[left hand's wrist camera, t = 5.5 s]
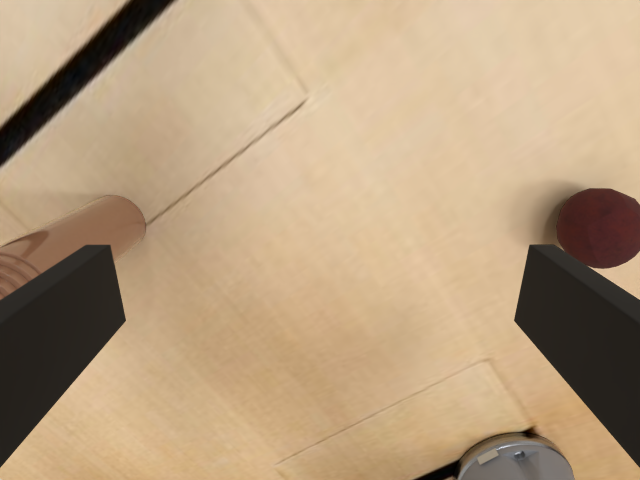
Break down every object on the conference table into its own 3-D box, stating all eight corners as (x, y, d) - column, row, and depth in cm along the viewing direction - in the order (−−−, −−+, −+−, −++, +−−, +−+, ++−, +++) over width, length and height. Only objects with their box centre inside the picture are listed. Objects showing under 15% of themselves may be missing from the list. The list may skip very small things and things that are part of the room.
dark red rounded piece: (558, 262, 43) (601, 293, 36) (529, 205, 40) (570, 227, 34) (624, 227, 41) (682, 252, 35) (598, 165, 39) (656, 180, 32)
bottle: (142, 255, 42) (-10, 393, 23) (86, 241, 42) (-120, 371, 22) (149, 203, 40) (-12, 307, 21) (90, 188, 40) (-133, 280, 20)
